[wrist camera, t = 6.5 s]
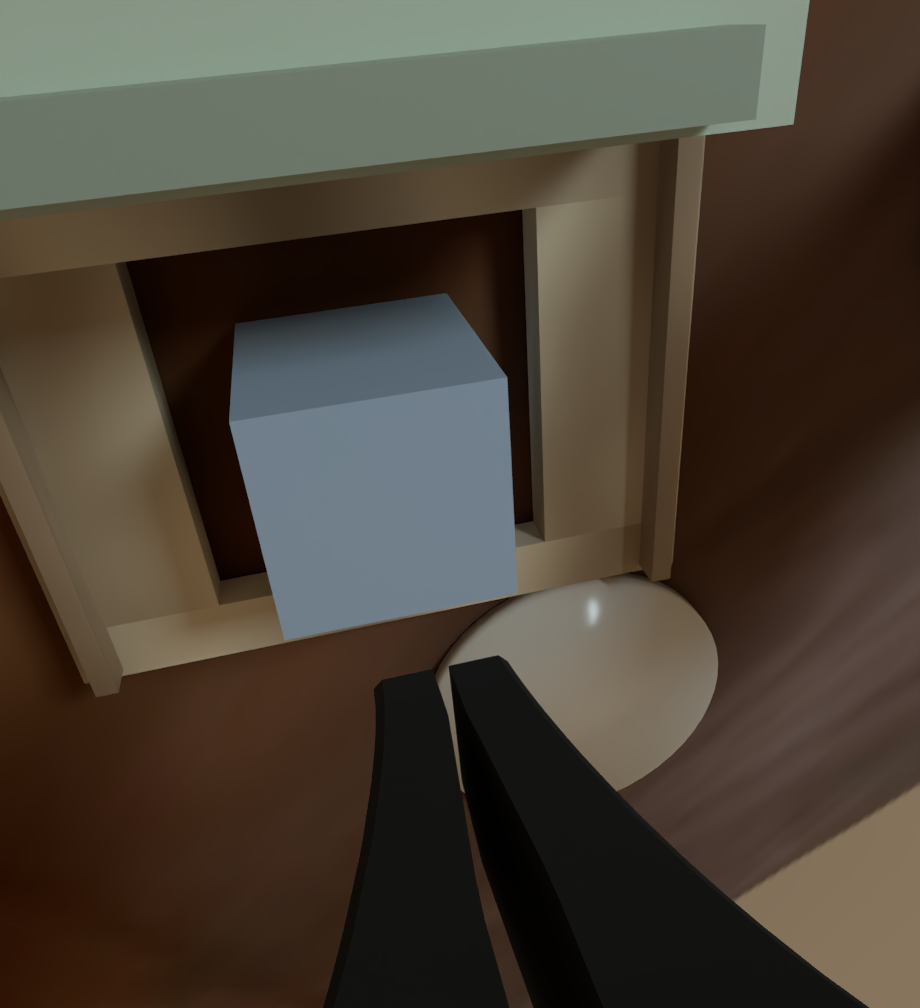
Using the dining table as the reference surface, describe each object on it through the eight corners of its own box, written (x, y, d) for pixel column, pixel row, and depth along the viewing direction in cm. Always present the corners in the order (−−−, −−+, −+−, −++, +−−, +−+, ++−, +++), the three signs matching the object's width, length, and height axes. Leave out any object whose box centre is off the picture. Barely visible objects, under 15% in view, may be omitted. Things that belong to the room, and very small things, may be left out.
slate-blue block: (445, 292, 17) (507, 377, 13) (461, 472, 20) (517, 593, 15) (235, 322, 17) (229, 421, 12) (277, 505, 19) (284, 640, 15)
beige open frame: (735, -710, 11) (812, -826, 9) (656, 543, 22) (686, 580, 21) (-520, -764, 9) (-679, -928, 7) (91, 656, 20) (78, 707, 18)
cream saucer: (721, 544, 23) (732, 556, 22) (697, 760, 27) (705, 773, 27) (409, 607, 21) (413, 621, 21) (440, 822, 26) (444, 837, 26)
